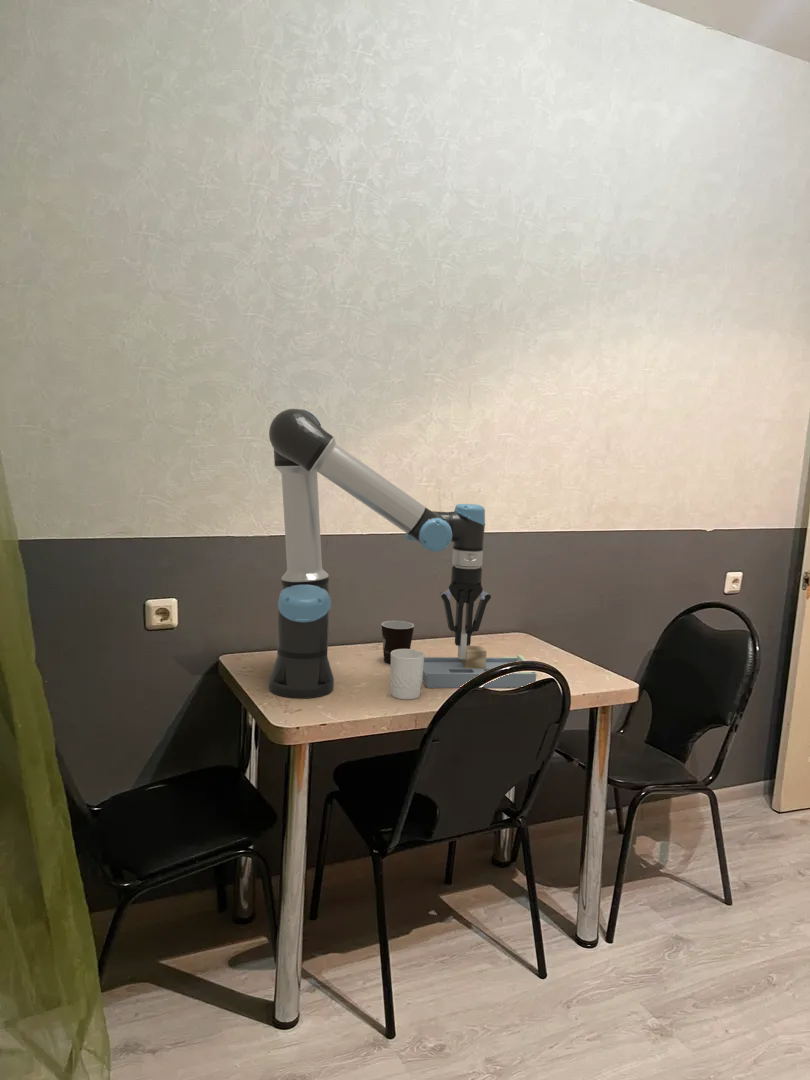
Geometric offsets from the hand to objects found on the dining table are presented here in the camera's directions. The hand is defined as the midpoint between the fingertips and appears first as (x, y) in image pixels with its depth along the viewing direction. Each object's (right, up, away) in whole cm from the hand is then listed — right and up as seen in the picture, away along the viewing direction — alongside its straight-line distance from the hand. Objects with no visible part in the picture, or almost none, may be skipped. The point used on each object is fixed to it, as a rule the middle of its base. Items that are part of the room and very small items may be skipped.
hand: (461, 657), depth 205 cm
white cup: (-14, -6, -16) cm, 23 cm away
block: (+3, -2, +1) cm, 4 cm away
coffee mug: (-16, -2, +11) cm, 20 cm away
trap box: (+3, -5, -2) cm, 6 cm away
